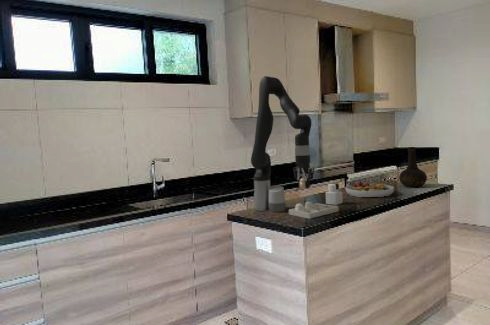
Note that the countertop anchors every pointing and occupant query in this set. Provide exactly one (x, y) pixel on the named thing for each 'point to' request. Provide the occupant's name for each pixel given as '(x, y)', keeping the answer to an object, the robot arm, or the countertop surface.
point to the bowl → (369, 189)
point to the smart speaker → (277, 199)
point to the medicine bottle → (333, 194)
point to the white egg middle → (308, 205)
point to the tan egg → (302, 183)
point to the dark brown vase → (412, 172)
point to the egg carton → (315, 211)
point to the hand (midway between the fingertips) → (304, 187)
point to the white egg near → (299, 207)
